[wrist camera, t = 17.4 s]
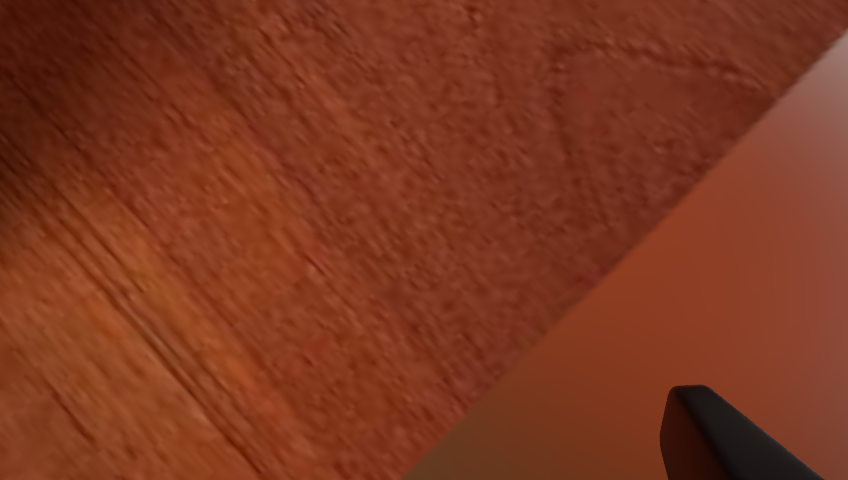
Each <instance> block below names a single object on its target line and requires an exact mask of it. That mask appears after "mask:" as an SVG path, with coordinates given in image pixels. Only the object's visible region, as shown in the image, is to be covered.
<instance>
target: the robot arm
mask: <svg viewBox="0 0 848 480" xmlns="http://www.w3.org/2000/svg"><path fill="white" fill-rule="evenodd" d="M660 447H661V452H662V456H663V460H664V464H665V468H666V471H667V475H668V479H669V480H824V479H823V478H822V477H820V476H819V475H818V474H817V473H816V472H814V471H813V470H812V469H810V468H809V467H808V466H807V465H805V464H804V463H803V462H802V461H800V460H799V459H798V458H797V457H796V456H794V455H793V454H792V453H791V452H789V451H788V450H787V449H786V448H784V447H783V446H782V445H781V444H779V443H778V442H777V441H775V440H774V439H773V438H772V437H771V436H769V435H768V434H767V433H765V432H764V431H763V430H762V429H761V428H759V427H758V426H757V425H755V424H754V423H753V422H752V421H751V420H749V419H748V418H747V417H746V416H744V415H743V414H742V413H741V412H739V411H738V410H737V409H736V408H734V407H733V406H732V405H731V404H729V403H728V402H727V401H726V400H724V399H723V398H722V397H721V396H719V395H718V394H717V393H716V392H714V391H713V390H712V389H711V388H709V387H707V386H705V385H685V386H675V387H673V388H672V389H671V390H670V392H669V394H668V398H667V402H666V407H665V412H664V417H663V421H662V426H661V431H660Z"/></svg>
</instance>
